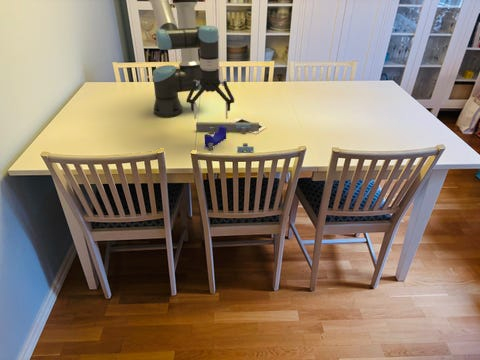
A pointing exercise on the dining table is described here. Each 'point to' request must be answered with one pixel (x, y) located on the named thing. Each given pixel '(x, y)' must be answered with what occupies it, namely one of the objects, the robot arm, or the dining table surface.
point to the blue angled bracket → (215, 137)
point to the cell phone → (249, 122)
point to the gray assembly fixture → (230, 127)
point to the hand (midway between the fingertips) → (211, 117)
